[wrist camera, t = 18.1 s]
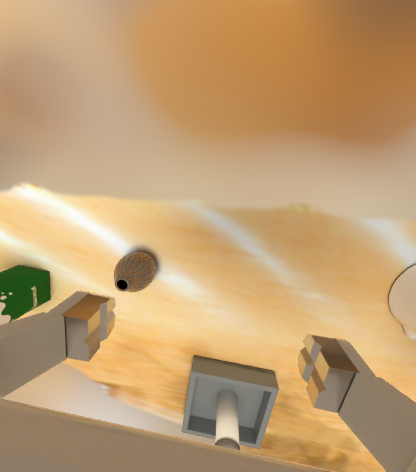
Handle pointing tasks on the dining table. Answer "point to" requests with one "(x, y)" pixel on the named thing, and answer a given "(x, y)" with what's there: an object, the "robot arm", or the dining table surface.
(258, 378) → the tray
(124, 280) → the vase
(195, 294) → the dining table surface
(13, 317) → the milk carton
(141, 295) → the dining table surface
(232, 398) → the shaker
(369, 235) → the dining table surface
